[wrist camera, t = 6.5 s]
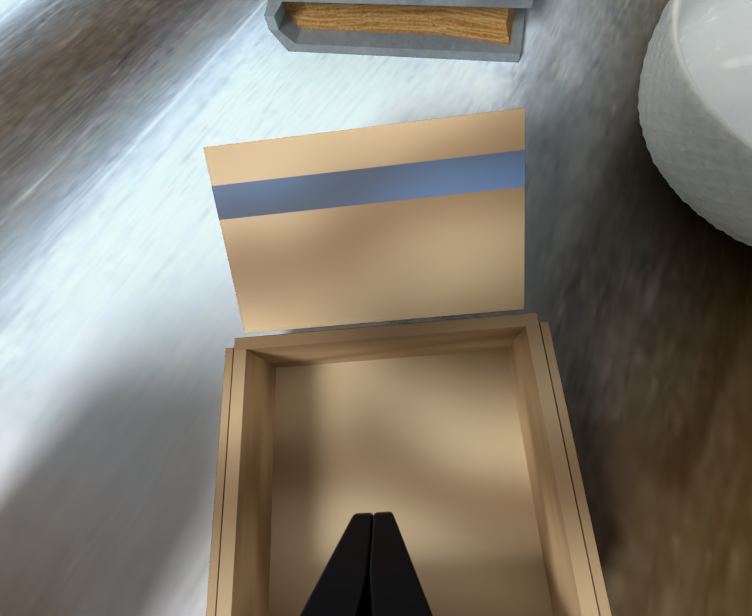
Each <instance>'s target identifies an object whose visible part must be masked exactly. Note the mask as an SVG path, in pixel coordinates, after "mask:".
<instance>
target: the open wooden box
mask: <svg viewBox="0 0 752 616" xmlns="http://www.w3.org/2000/svg"><path fill="white" fill-rule="evenodd" d="M388 511H390V512H392V513H393V514H394V517H395V519H396V522H397V525H398V527H399V530H400V532H401V535H402V537H403V540H404V542H405V545H406V548H407V550H408V553H409V555H410V558H411V560H412V563H413V566H414V568H415V571H416V573H417V576H418V578H419V581H420V584H421V586H422V589H423V591H424V594H425V596H426V599H427V602H428V604H429V607H430V609H431V612H432V614H433V616H611V612H610V607H609V602H608V598H607V593H606V589H605V584H604V579H603V575H602V570H601V565H600V561H599V556H598V551H597V547H596V542H595V537H594V533H593V528H592V523H591V519H590V514H589V509H588V505H587V500H586V496H585V491H584V486H583V482H582V477H581V472H580V468H579V463H578V458H577V454H576V449H575V444H574V440H573V435H572V430H571V426H570V421H569V416H568V412H567V407H566V403H565V398H564V393H563V389H562V384H561V379H560V375H559V370H558V365H557V361H556V356H555V351H554V347H553V342H552V337H551V333H550V328H549V324H548V322H540V323H539V322H538V317H537V313H525V314H513V315H502V316H490V317H478V318H467V319H455V320H443V321H431V322H420V323H408V324H396V325H385V326H373V327H361V328H350V329H338V330H326V331H314V332H303V333H291V334H279V335H268V336H256V337H244V338H235V345H234V348H226V355H225V368H224V381H223V395H222V408H221V421H220V435H219V448H218V461H217V475H216V488H215V501H214V515H213V528H212V541H211V555H210V568H209V581H208V595H207V608H206V616H299V615H300V613H301V611H302V609H303V608H304V606H305V604H306V602H307V600H308V598H309V596H310V595H311V593H312V591H313V589H314V587H315V585H316V583H317V581H318V580H319V578H320V576H321V574H322V572H323V570H324V568H325V567H326V565H327V563H328V561H329V559H330V557H331V555H332V553H333V552H334V550H335V548H336V546H337V544H338V542H339V540H340V539H341V537H342V535H343V533H344V531H345V529H346V527H347V526H348V524H349V522H350V520H351V518H352V516H353V515H354V514H356V513H368V512H370V513H372V514H373V515H374V513H376V512H388Z"/></svg>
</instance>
